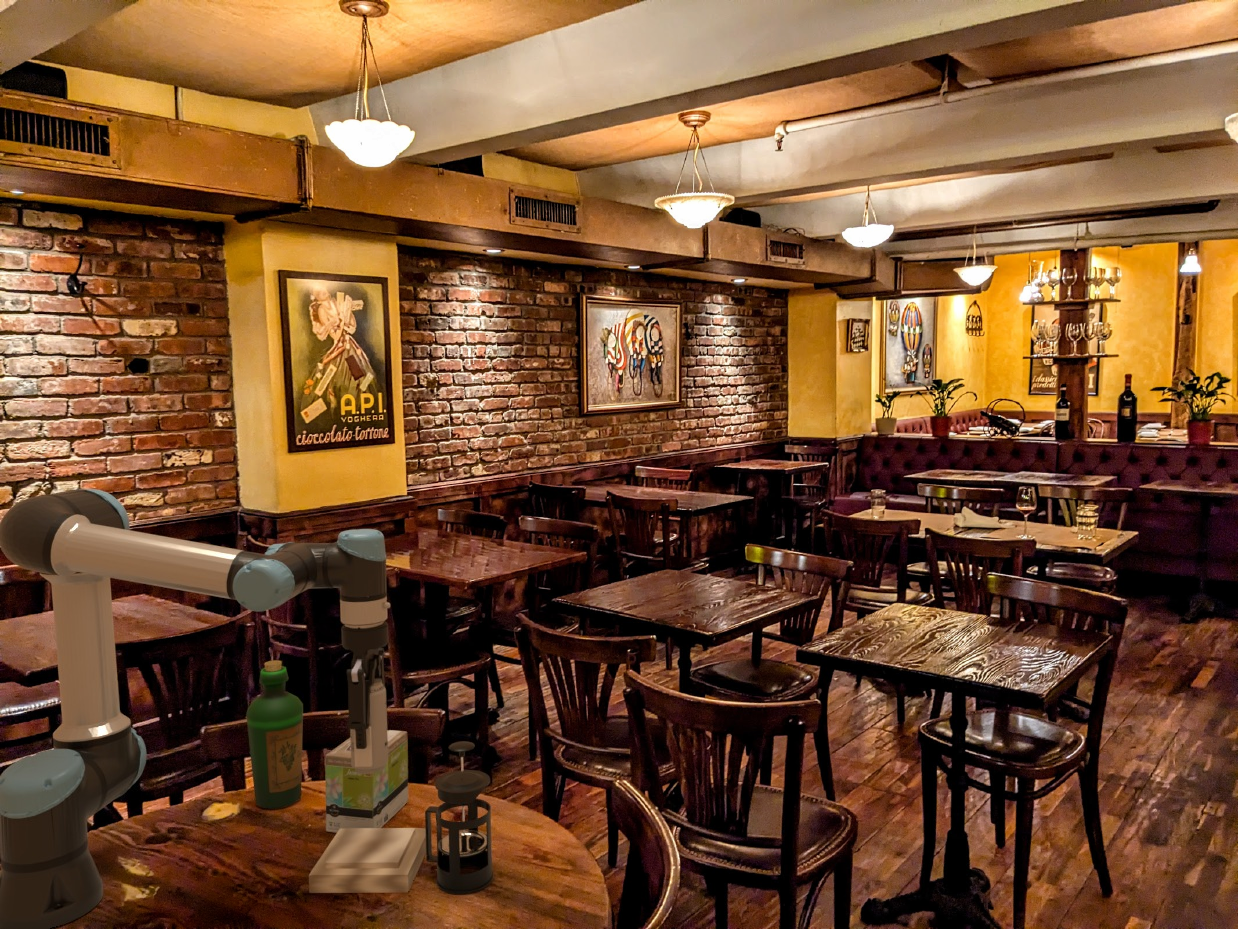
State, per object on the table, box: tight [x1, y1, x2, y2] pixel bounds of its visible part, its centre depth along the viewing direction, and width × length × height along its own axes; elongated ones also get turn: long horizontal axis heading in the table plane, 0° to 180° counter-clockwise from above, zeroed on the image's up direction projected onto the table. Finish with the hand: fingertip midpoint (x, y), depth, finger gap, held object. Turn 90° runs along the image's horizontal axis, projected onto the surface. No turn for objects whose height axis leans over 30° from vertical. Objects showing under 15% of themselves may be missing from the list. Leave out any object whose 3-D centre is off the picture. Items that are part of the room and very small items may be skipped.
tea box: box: [324, 729, 409, 834], centre depth 176 cm, size 15×10×15 cm, turn 168°
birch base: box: [308, 827, 426, 894], centre depth 157 cm, size 16×16×4 cm
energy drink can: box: [349, 678, 388, 774], centre depth 155 cm, size 6×6×15 cm
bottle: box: [245, 659, 304, 810], centre depth 183 cm, size 11×11×28 cm
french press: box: [424, 740, 495, 896], centre depth 152 cm, size 12×9×23 cm
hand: (369, 757), depth 156 cm, fingers closed on energy drink can, 6 cm apart
